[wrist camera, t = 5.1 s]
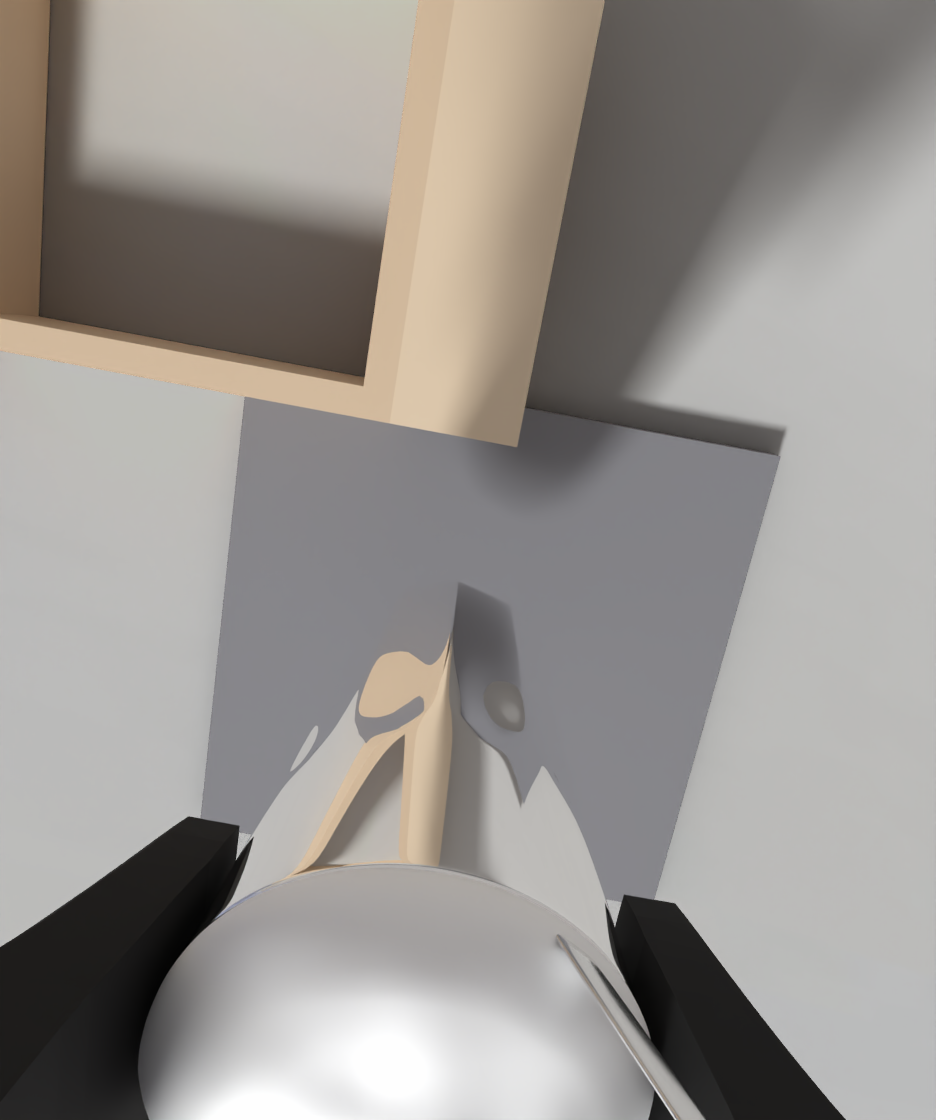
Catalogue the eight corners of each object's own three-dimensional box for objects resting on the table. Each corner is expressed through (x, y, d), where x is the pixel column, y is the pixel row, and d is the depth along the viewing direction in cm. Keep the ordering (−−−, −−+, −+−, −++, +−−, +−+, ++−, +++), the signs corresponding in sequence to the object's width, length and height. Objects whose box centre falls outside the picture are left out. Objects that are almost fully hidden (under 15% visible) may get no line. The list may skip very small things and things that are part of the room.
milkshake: (656, 627, 14) (965, 1330, 5) (456, 802, 16) (397, 1596, 6) (472, 459, 13) (415, 932, 4) (278, 662, 15) (-103, 1359, 5)
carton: (514, 432, 18) (517, 447, 15) (-96, 318, 18) (-212, 311, 15) (603, -25, 16) (627, -110, 13) (-100, -159, 16) (-238, -277, 13)
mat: (648, 894, 21) (652, 907, 20) (206, 814, 21) (199, 825, 20) (772, 453, 18) (780, 456, 17) (255, 356, 18) (248, 357, 17)
